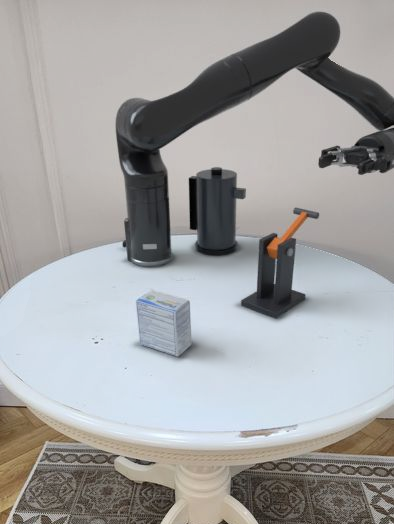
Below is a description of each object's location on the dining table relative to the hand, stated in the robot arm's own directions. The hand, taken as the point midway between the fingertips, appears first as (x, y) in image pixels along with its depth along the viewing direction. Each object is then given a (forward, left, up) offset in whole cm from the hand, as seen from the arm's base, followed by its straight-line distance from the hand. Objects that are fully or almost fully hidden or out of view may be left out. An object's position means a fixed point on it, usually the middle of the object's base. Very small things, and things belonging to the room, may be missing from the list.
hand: (340, 166), depth 103 cm
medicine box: (-18, -41, -22) cm, 50 cm away
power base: (-6, -19, -22) cm, 30 cm away
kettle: (-27, +3, -22) cm, 35 cm away
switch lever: (-5, -15, -10) cm, 18 cm away
